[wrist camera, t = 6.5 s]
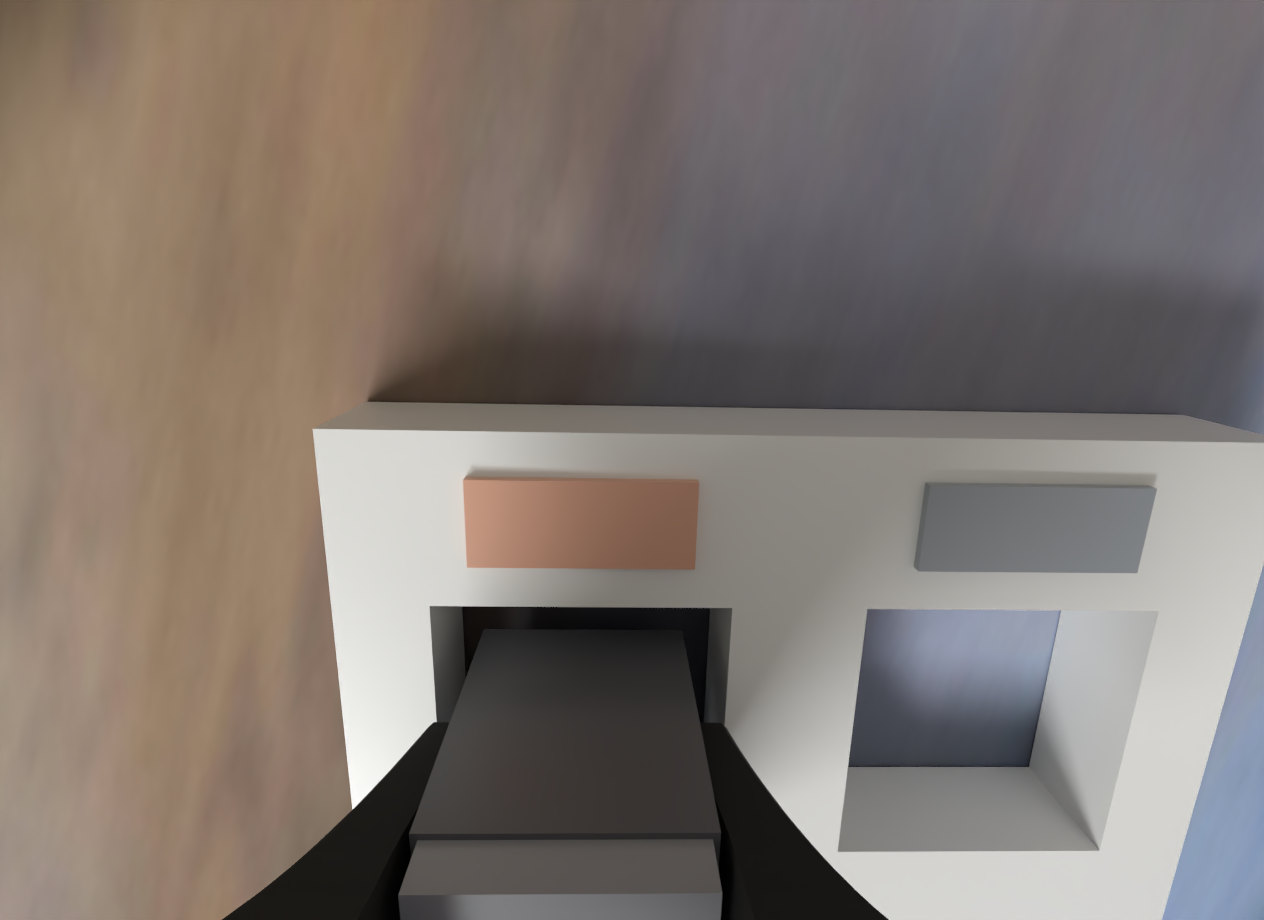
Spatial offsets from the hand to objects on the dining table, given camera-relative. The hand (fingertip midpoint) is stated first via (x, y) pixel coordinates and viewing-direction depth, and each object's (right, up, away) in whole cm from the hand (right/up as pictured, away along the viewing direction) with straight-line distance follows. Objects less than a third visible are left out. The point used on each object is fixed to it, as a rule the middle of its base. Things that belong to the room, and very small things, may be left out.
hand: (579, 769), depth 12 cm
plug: (0, 0, +2) cm, 2 cm away
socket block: (+4, +1, +3) cm, 5 cm away
